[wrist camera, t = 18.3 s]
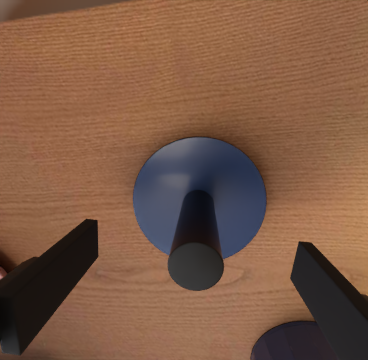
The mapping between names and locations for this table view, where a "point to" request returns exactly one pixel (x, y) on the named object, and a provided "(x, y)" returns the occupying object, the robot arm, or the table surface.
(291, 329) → the pot
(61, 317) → the table surface
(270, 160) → the table surface
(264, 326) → the table surface
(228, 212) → the lid
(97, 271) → the table surface
